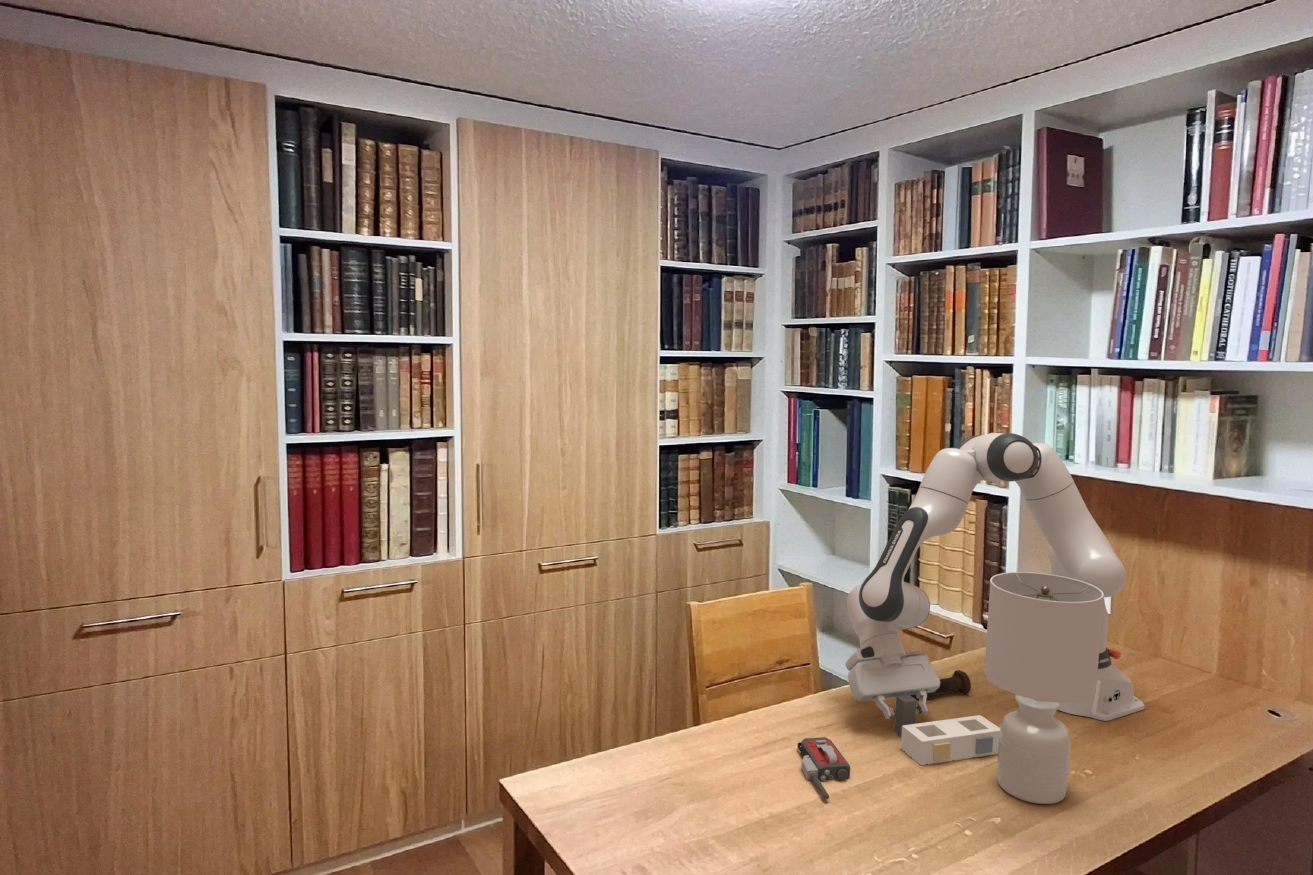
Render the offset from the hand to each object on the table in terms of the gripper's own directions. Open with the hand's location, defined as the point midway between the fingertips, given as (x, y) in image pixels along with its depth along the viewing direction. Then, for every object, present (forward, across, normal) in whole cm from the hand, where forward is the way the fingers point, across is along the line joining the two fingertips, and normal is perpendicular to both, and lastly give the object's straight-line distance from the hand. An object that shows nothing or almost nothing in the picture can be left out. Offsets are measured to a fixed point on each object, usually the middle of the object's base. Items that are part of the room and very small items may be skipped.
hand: (907, 715), depth 173 cm
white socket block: (+9, -5, +3) cm, 11 cm away
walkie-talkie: (+10, +24, +3) cm, 27 cm away
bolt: (-8, -19, -15) cm, 25 cm away
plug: (+3, 0, -4) cm, 4 cm away
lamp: (+21, -11, +14) cm, 27 cm away
